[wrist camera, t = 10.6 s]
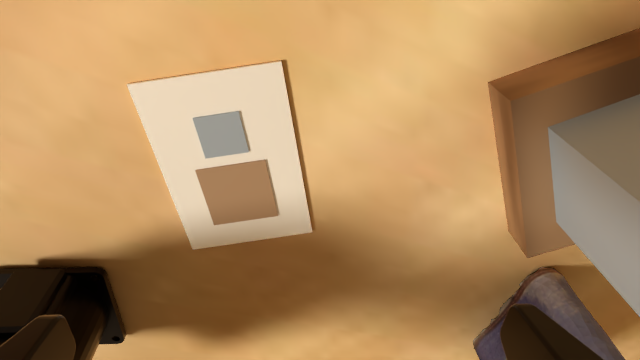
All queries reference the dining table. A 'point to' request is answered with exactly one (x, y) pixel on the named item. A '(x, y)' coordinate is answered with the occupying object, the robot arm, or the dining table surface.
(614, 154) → the tower block
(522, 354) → the robot arm
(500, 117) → the base brick
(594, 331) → the flask
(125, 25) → the dining table surface
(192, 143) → the page
